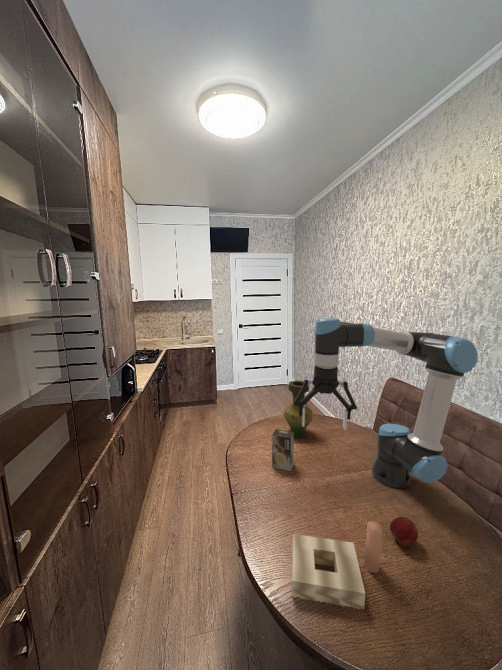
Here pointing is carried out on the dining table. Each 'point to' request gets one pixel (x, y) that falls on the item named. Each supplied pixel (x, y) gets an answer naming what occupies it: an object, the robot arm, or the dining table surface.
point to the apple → (404, 531)
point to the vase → (297, 411)
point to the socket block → (325, 584)
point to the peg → (373, 546)
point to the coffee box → (282, 449)
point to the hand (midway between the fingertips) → (323, 426)
